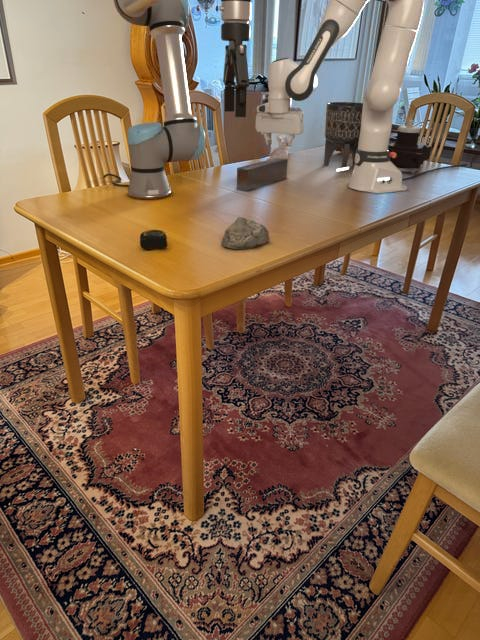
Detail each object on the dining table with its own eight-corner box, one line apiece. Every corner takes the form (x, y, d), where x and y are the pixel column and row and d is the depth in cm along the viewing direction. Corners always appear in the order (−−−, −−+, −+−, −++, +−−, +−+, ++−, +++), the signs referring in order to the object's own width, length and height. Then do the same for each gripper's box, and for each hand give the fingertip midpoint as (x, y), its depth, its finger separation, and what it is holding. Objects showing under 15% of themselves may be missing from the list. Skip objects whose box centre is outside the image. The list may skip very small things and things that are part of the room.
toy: (334, 147, 234) (333, 142, 247) (337, 160, 237) (336, 154, 250) (356, 140, 231) (354, 135, 243) (359, 153, 234) (356, 147, 246)
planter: (313, 167, 208) (319, 103, 195) (331, 160, 222) (338, 101, 209) (353, 173, 199) (362, 107, 185) (369, 166, 213) (379, 104, 199)
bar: (276, 176, 191) (277, 157, 187) (286, 178, 188) (287, 159, 184) (236, 189, 172) (237, 167, 168) (247, 191, 169) (247, 169, 165)
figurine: (292, 163, 215) (294, 134, 209) (276, 168, 204) (278, 138, 198) (278, 161, 219) (279, 133, 212) (261, 166, 208) (262, 136, 202)
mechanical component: (377, 119, 195) (405, 114, 215) (369, 169, 206) (397, 160, 225) (427, 124, 183) (452, 118, 203) (415, 177, 194) (441, 167, 213)
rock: (255, 233, 128) (256, 211, 124) (276, 242, 122) (278, 219, 119) (217, 244, 120) (217, 220, 117) (239, 254, 115) (239, 230, 111)
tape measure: (140, 252, 115) (139, 238, 113) (141, 242, 120) (140, 229, 119) (167, 251, 116) (166, 237, 114) (167, 241, 121) (166, 228, 120)
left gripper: (212, 24, 125) (213, 109, 135) (232, 19, 104) (231, 119, 115) (238, 25, 126) (237, 109, 137) (263, 20, 106) (259, 119, 116)
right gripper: (307, 107, 169) (305, 146, 176) (262, 105, 180) (262, 142, 187) (298, 108, 165) (297, 148, 172) (253, 107, 176) (253, 144, 183)
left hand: (234, 114), depth 126 cm, fingers open, 13 cm apart
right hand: (278, 145), depth 179 cm, fingers open, 8 cm apart
